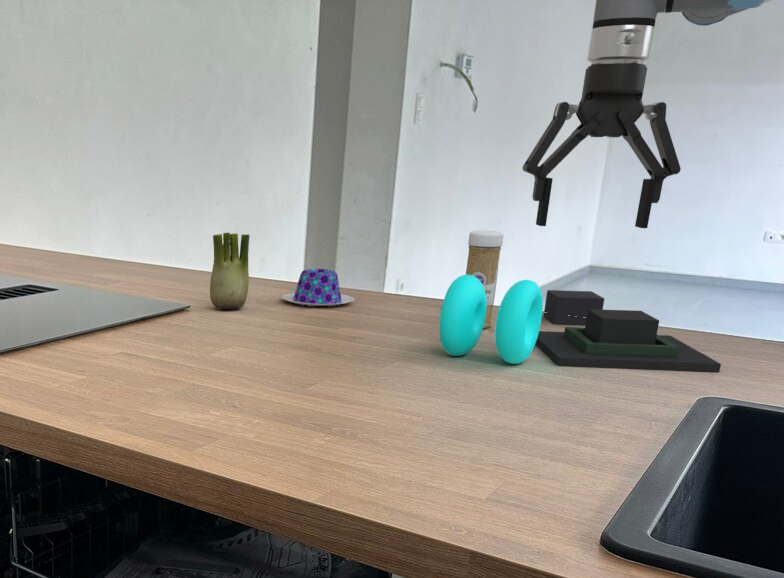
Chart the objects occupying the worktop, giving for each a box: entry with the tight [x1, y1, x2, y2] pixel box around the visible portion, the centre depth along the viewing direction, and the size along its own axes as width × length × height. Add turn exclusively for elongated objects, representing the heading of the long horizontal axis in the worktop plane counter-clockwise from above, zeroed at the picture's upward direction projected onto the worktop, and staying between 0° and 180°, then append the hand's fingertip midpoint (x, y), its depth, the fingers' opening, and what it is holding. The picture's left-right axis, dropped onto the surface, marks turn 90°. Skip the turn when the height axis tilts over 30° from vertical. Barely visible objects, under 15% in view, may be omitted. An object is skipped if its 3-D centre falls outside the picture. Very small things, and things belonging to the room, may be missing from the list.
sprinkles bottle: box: [465, 230, 504, 329], centre depth 123 cm, size 5×5×13 cm
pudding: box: [281, 268, 355, 307], centre depth 143 cm, size 12×12×5 cm
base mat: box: [535, 326, 722, 373], centre depth 109 cm, size 18×16×2 cm
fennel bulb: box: [209, 232, 250, 310], centre depth 135 cm, size 6×5×12 cm
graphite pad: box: [543, 289, 605, 326], centre depth 129 cm, size 6×6×4 cm
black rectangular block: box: [584, 309, 660, 345], centre depth 108 cm, size 6×6×4 cm
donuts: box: [438, 274, 544, 365], centre depth 104 cm, size 10×10×10 cm
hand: (590, 226), depth 122 cm, fingers open, 13 cm apart
